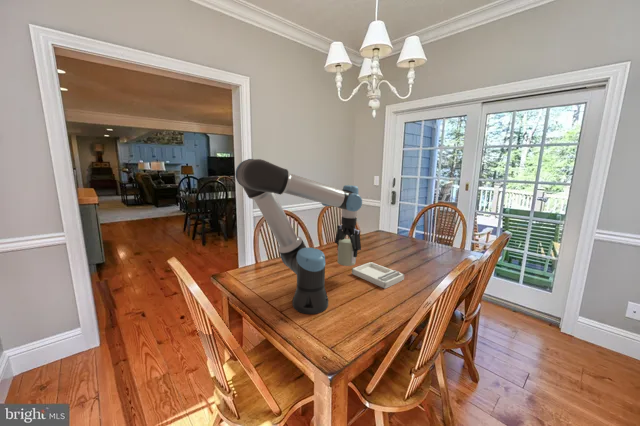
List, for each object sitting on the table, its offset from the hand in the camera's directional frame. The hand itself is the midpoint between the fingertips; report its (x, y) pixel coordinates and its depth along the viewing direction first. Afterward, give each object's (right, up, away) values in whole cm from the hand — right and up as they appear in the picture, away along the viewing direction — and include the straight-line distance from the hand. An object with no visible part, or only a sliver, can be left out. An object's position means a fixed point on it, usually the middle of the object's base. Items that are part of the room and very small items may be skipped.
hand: (346, 259), depth 134 cm
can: (0, -2, 0) cm, 2 cm away
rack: (+17, -10, +6) cm, 21 cm away
